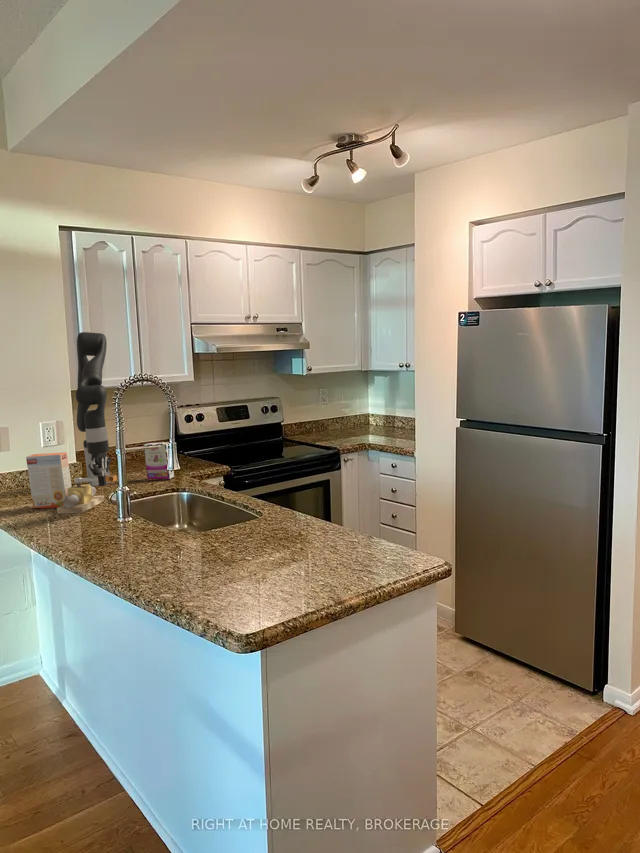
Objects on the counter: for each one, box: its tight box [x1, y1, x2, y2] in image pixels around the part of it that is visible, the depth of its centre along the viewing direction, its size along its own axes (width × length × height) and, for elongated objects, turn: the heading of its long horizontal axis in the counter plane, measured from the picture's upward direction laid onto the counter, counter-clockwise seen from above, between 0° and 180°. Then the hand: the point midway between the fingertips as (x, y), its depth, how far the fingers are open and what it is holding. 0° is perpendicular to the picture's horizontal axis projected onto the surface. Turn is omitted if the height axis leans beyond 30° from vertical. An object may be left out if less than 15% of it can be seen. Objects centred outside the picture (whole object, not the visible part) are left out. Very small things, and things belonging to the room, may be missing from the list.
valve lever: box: [73, 474, 118, 485], centre depth 239 cm, size 16×3×2 cm, turn 82°
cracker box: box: [25, 451, 73, 509], centre depth 244 cm, size 14×6×21 cm, turn 84°
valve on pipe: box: [56, 483, 105, 514], centre depth 241 cm, size 17×10×9 cm, turn 172°
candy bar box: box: [143, 441, 175, 480], centre depth 281 cm, size 11×5×16 cm, turn 77°
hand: (102, 485), depth 233 cm, fingers closed
